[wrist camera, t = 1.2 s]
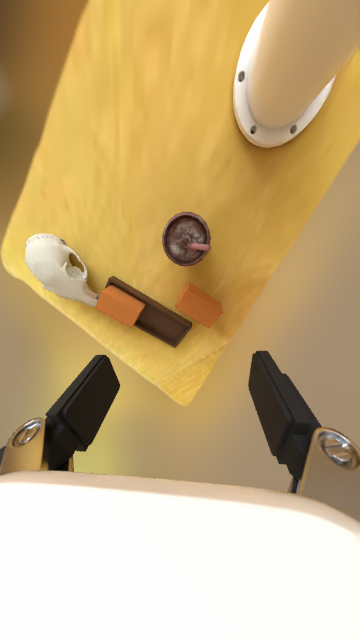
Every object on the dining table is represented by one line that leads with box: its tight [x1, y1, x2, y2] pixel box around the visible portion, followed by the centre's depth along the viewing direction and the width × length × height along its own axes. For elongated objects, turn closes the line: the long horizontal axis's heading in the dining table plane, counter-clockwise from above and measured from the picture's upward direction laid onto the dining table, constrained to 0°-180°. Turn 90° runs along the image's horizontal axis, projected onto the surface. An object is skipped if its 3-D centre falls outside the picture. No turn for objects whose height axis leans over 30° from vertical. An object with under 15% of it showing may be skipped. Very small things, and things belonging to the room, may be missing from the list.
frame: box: [106, 276, 192, 348], centre depth 39 cm, size 8×22×2 cm, turn 58°
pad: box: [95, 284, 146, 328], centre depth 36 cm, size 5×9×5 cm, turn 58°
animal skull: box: [25, 234, 100, 307], centre depth 33 cm, size 10×16×10 cm, turn 24°
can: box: [162, 212, 211, 266], centre depth 25 cm, size 6×6×14 cm
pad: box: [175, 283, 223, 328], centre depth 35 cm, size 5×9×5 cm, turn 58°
